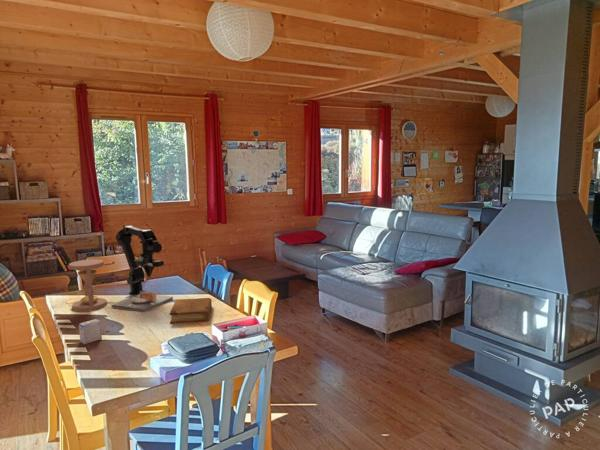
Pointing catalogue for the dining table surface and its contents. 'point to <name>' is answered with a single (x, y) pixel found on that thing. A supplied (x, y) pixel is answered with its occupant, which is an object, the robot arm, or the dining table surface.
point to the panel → (143, 306)
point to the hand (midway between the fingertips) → (149, 276)
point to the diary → (191, 310)
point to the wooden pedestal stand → (88, 285)
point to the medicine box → (90, 331)
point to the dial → (144, 297)
